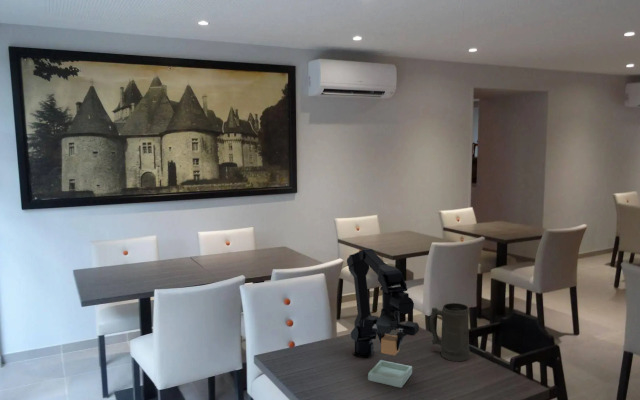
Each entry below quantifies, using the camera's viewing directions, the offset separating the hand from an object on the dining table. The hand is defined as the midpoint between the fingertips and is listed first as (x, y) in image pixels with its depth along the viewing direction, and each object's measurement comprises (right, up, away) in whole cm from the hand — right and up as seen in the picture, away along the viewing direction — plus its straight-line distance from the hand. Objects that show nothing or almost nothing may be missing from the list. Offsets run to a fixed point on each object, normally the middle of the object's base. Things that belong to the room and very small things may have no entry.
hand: (390, 348), depth 167 cm
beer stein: (+25, -8, +19) cm, 32 cm away
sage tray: (0, -10, +1) cm, 10 cm away
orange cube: (0, -1, 0) cm, 1 cm away
